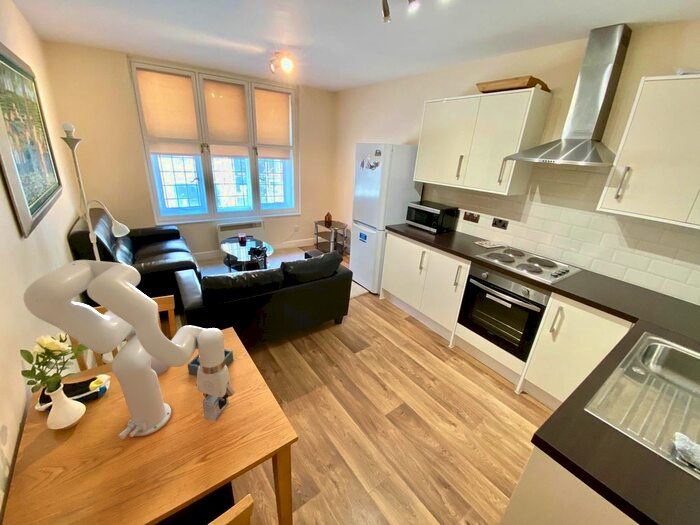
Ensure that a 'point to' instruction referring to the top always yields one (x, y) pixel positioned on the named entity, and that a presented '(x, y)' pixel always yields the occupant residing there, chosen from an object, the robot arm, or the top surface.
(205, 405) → the medicine box
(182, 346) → the robot arm
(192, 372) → the tub
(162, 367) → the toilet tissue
